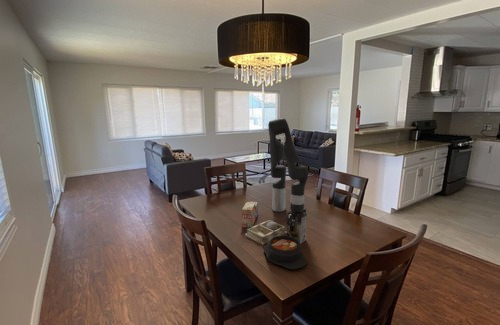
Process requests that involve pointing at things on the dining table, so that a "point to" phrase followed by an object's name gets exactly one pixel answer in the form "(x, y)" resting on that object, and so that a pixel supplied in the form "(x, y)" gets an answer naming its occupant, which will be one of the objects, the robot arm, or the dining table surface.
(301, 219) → the coffee box
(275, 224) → the caddy
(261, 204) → the dining table surface
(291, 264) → the casserole
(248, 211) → the stack of blocks
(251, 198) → the dining table surface
